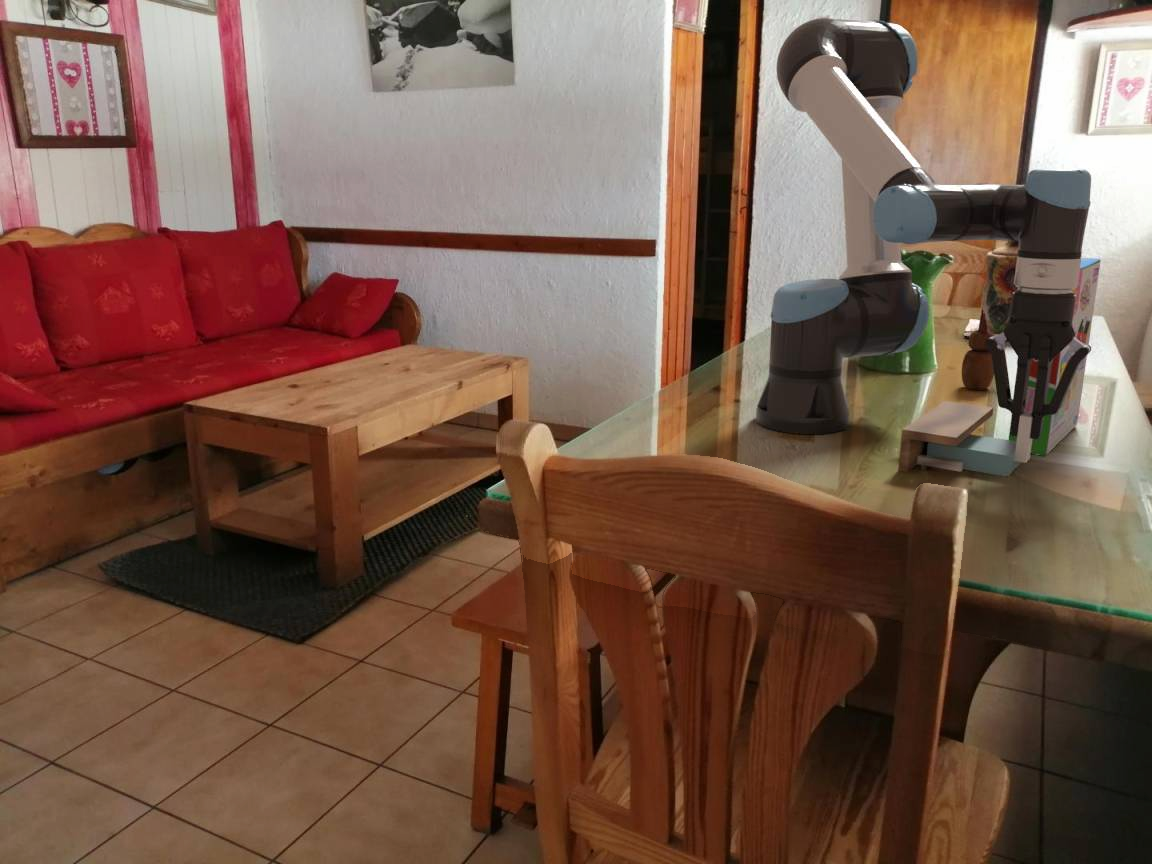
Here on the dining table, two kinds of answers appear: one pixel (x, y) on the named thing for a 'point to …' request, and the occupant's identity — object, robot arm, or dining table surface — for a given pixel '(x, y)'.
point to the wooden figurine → (978, 359)
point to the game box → (1081, 323)
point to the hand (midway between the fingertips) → (1022, 459)
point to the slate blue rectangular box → (979, 454)
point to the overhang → (940, 433)
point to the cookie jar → (998, 289)
